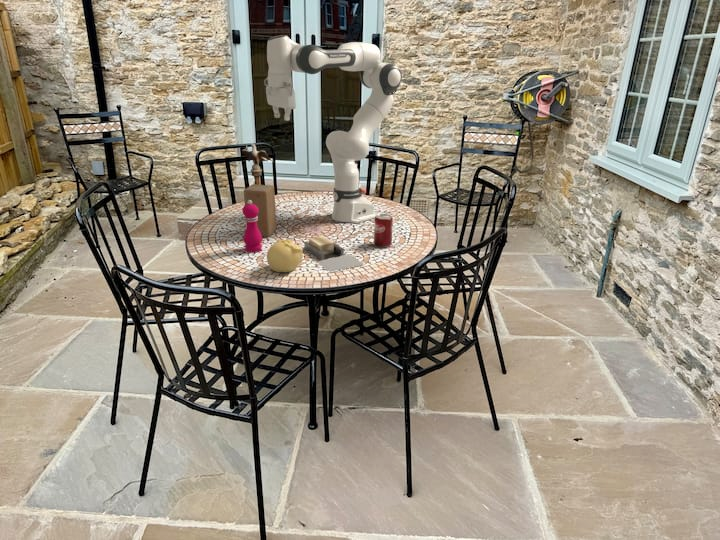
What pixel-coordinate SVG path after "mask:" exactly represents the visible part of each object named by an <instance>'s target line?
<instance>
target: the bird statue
mask: <svg viewBox="0 0 720 540" xmlns="http://www.w3.org/2000/svg"><path fill="white" fill-rule="evenodd" d="M250 146H251V150H249V147H248V145H246V147H244V149H242V150H241V152H242V154H243V155H244V156H245V157H246V158H247V160H248V162H250V161H251V160H252V162H253V164H252V165H251V169H250V172H251V176H252V177H253V179H254V184H257V185H261V180H260V179H261V176H262V171H263V169H262V168H261V167H260V165H259V164H260V162H267V163H268V162H269V161H270V162H272V163H273V164H274V163H275V162H274V159H273V158H271V157H269V155H268V154H267V152H266V150H264V149H263V150H260V151H258V150H257V148H256V144H255V143H253V142H250Z"/></svg>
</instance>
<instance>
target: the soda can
mask: <svg viewBox="0 0 720 540" xmlns="http://www.w3.org/2000/svg"><path fill="white" fill-rule="evenodd" d="M393 220H394V217H393V216H392V215H391V214H387V213H378V215H376V216H375V218H374V227H373V244H374V246H376V247H378V248H388V247H391V246H392V244H393V242H392V241H393V227H394V225H393V224H394V221H393Z"/></svg>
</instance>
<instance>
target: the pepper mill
mask: <svg viewBox="0 0 720 540" xmlns="http://www.w3.org/2000/svg"><path fill="white" fill-rule="evenodd" d="M247 203H248V204H246V205H245V204H244V205H243V207H242V214H243V215H244V217H243V218H244V222H245V225H246V227H245V230H244V234H243V238H242V239H243V243H244V244H245V246H244V249H245V252H247V253H258V252H261V251H262V249H263V247H262V241H263V237H262V235H261V233H260V231H259V230H258V227H257V220H258V216H257V214H258V212H259V210H258V207H257V206H256V205H255V204H252V201H251V200H248V202H247Z"/></svg>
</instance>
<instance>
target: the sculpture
mask: <svg viewBox="0 0 720 540" xmlns="http://www.w3.org/2000/svg"><path fill="white" fill-rule="evenodd" d="M303 251H304V250H303V248H302V247H301V246H300V245H298V244H297V243H295V242H293V240H292V239H278V240H277V241H276V242H275V243H273V244H272V245H271V246H270V247H269V248H268V250H267V254H266V260H267V261H266V262H267V264H268V266H269V268H270V269H271V270H272V271H274V272H277V273H288V272H289V273H290V272H293V271H295V270H296V269H297V268H298V266H299V265H300V262H301V261H302V260H303V256H304V255H303Z"/></svg>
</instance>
